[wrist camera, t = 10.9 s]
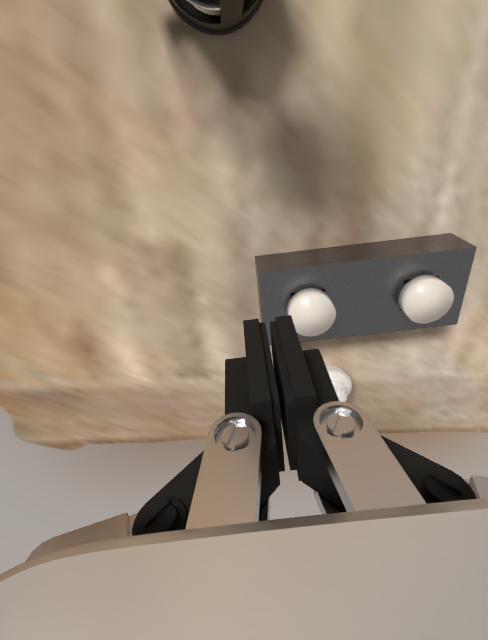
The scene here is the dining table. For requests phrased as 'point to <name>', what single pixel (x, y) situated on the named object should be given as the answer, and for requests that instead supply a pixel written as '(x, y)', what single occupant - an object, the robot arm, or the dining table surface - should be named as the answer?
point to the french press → (235, 11)
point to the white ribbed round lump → (339, 381)
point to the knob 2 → (425, 298)
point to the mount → (364, 281)
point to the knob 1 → (311, 311)
